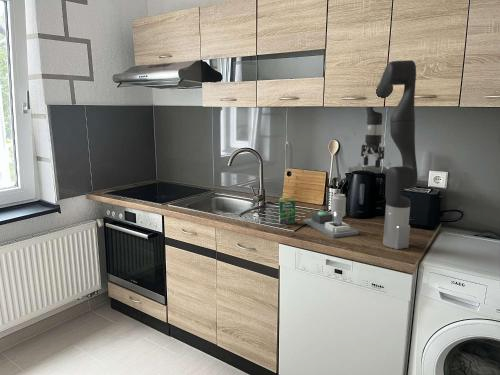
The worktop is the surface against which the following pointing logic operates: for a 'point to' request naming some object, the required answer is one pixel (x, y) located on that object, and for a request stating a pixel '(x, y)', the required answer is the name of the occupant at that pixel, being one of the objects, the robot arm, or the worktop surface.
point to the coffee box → (287, 210)
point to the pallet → (329, 225)
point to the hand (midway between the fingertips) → (371, 166)
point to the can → (338, 203)
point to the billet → (337, 218)
